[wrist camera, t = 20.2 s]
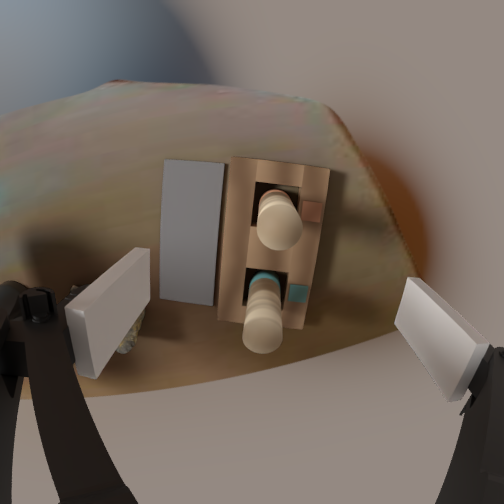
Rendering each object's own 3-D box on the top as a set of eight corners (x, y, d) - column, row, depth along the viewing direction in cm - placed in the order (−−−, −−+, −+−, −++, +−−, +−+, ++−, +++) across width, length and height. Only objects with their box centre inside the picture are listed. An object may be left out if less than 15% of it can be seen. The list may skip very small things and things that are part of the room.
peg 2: (251, 267, 43) (243, 318, 30) (281, 270, 43) (285, 321, 30) (249, 294, 45) (240, 352, 31) (277, 297, 45) (280, 355, 31)
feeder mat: (160, 297, 45) (159, 298, 45) (165, 159, 39) (164, 159, 39) (213, 304, 45) (212, 306, 45) (224, 163, 39) (224, 163, 39)
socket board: (219, 311, 46) (216, 320, 43) (233, 156, 39) (231, 156, 36) (300, 320, 46) (302, 330, 43) (326, 168, 39) (330, 169, 36)
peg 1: (261, 186, 40) (258, 202, 27) (292, 190, 40) (306, 208, 27) (257, 217, 41) (253, 248, 28) (288, 221, 41) (299, 253, 28)
